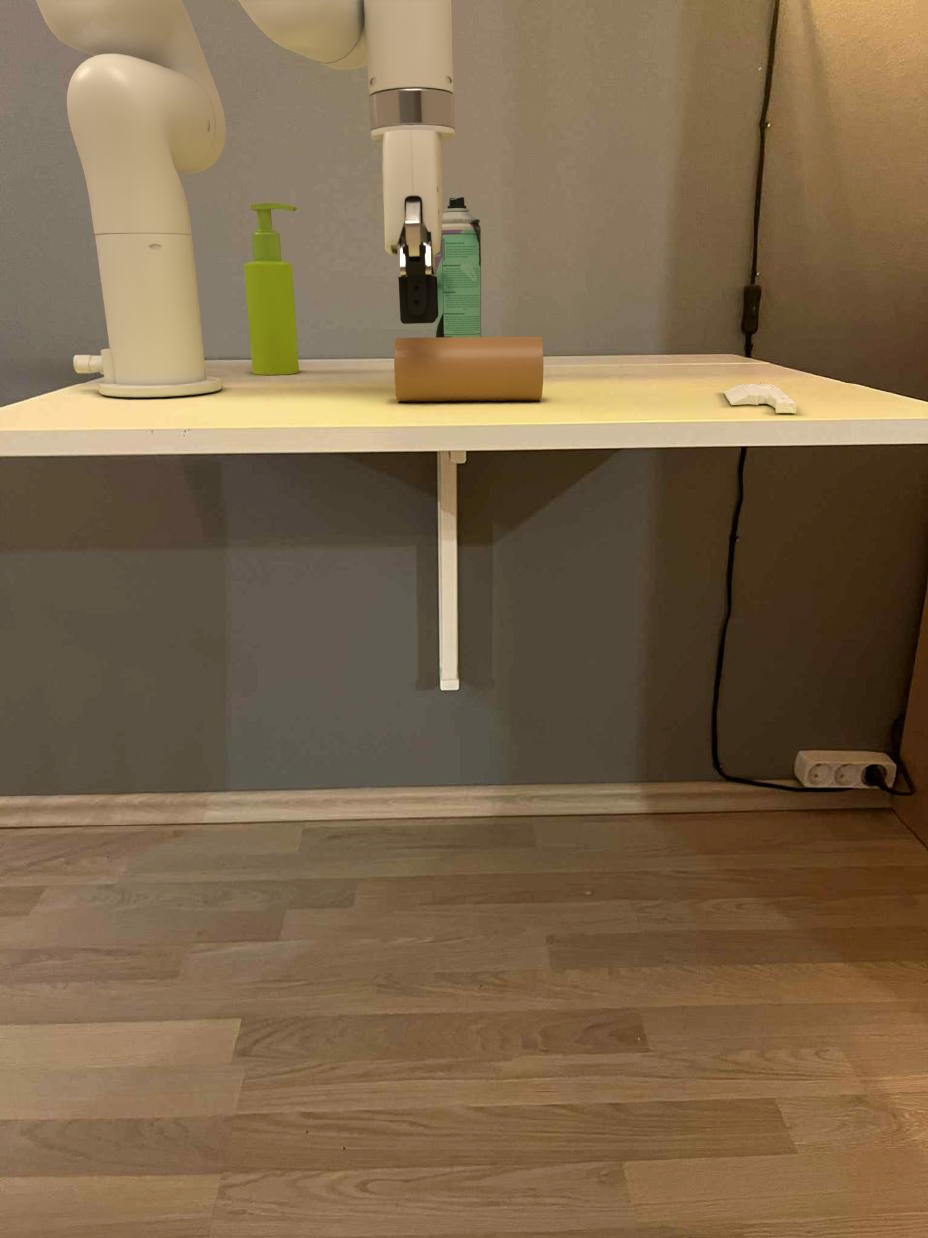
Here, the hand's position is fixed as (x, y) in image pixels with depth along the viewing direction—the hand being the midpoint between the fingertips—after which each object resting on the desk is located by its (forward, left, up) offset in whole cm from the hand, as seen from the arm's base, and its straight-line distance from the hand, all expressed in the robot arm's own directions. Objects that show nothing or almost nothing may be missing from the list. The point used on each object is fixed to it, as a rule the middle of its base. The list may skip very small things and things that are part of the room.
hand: (420, 321), depth 90 cm
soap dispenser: (-19, +31, -8) cm, 38 cm away
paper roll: (+5, 0, -7) cm, 9 cm away
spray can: (+4, +24, -8) cm, 26 cm away
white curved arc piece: (+32, -4, -8) cm, 33 cm away
